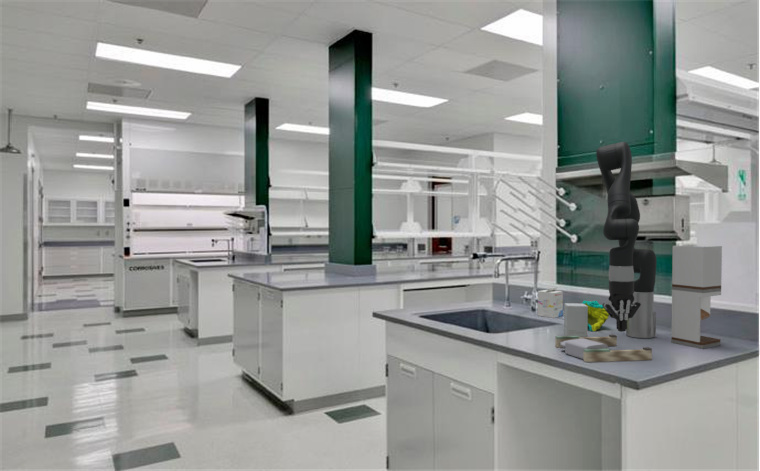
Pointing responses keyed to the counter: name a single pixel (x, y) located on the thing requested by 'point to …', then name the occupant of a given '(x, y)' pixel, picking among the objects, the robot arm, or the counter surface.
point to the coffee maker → (694, 292)
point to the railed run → (607, 350)
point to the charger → (580, 346)
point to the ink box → (550, 303)
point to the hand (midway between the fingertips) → (621, 331)
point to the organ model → (595, 315)
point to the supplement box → (575, 319)
